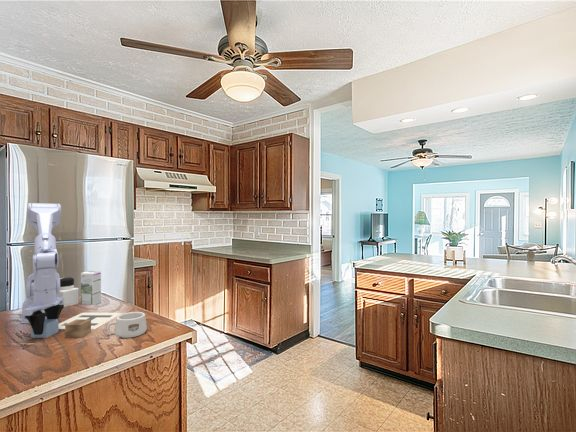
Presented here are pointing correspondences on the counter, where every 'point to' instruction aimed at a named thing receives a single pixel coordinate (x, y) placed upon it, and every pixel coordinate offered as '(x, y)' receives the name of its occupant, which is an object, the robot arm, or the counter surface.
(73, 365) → the counter surface
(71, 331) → the block
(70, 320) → the letter board
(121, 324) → the mug
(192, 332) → the counter surface
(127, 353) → the counter surface
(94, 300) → the syrup box
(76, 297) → the medicine bottle
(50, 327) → the blue cube
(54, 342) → the counter surface
